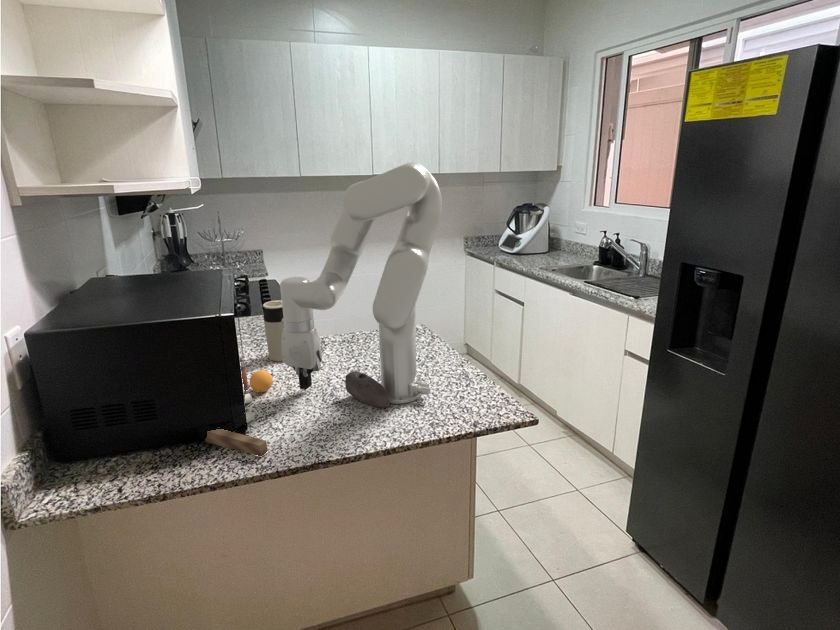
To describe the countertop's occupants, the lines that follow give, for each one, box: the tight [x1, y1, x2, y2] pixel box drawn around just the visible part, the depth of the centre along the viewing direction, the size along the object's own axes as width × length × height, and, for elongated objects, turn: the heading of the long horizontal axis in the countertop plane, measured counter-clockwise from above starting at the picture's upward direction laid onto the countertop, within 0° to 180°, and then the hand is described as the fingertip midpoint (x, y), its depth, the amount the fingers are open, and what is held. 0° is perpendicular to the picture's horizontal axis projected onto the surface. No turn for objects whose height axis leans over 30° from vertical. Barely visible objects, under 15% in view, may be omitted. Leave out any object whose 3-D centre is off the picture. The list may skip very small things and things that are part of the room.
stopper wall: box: [204, 429, 269, 456], centre depth 109 cm, size 18×2×3 cm, turn 66°
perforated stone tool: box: [344, 370, 391, 409], centre depth 126 cm, size 15×5×7 cm, turn 46°
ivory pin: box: [244, 393, 253, 405], centre depth 126 cm, size 2×2×8 cm
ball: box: [249, 369, 274, 393], centre depth 133 cm, size 6×6×6 cm
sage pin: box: [245, 410, 255, 424], centre depth 116 cm, size 2×2×8 cm
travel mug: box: [262, 299, 285, 362], centre depth 153 cm, size 8×8×18 cm
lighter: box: [239, 356, 250, 392], centre depth 135 cm, size 8×3×10 cm, turn 62°
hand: (306, 387), depth 133 cm, fingers closed
